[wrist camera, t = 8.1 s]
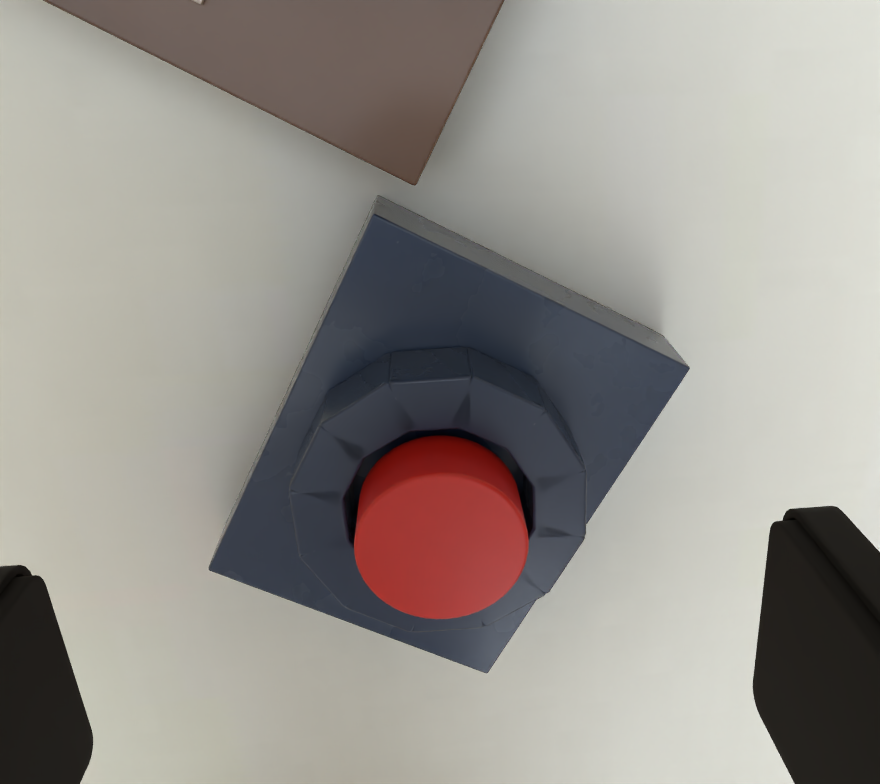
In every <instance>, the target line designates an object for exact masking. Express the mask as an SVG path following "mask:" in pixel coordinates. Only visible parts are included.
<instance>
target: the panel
mask: <svg viewBox="0 0 880 784" xmlns="http://www.w3.org/2000/svg"><path fill="white" fill-rule="evenodd" d="M43 1H45V2H47V3H49V4H51V5H53V6H55V7H57V8H59V9H61V10H63V11H65V12H67V13H69V14H71V15H73V16H75V17H77V18H79V19H81V20H83V21H85V22H87V23H89V24H91V25H93V26H95V27H97V28H99V29H101V30H103V31H105V32H107V33H109V34H111V35H113V36H115V37H117V38H119V39H121V40H123V41H125V42H127V43H129V44H131V45H133V46H135V47H137V48H139V49H141V50H143V51H145V52H147V53H149V54H151V55H153V56H155V57H157V58H159V59H161V60H163V61H165V62H167V63H169V64H171V65H173V66H175V67H177V68H179V69H181V70H183V71H185V72H187V73H189V74H191V75H193V76H195V77H197V78H199V79H201V80H203V81H205V82H207V83H209V84H211V85H213V86H215V87H217V88H219V89H221V90H223V91H225V92H227V93H229V94H231V95H233V96H235V97H237V98H239V99H241V100H243V101H245V102H247V103H249V104H251V105H253V106H255V107H257V108H259V109H261V110H263V111H265V112H267V113H269V114H271V115H273V116H275V117H277V118H279V119H281V120H283V121H285V122H287V123H289V124H291V125H293V126H295V127H297V128H299V129H301V130H303V131H305V132H307V133H309V134H311V135H313V136H315V137H317V138H319V139H321V140H323V141H325V142H327V143H329V144H331V145H333V146H335V147H337V148H339V149H341V150H343V151H345V152H347V153H349V154H351V155H353V156H355V157H357V158H359V159H361V160H363V161H365V162H367V163H369V164H371V165H373V166H375V167H377V168H379V169H381V170H383V171H385V172H387V173H389V174H391V175H393V176H395V177H397V178H399V179H401V180H403V181H405V182H407V183H409V184H411V185H416V184H417V182H418V180H419V178H420V176H421V174H422V172H423V170H424V168H425V166H426V163H427V161H428V159H429V157H430V155H431V153H432V151H433V149H434V147H435V145H436V142H437V140H438V138H439V136H440V134H441V132H442V130H443V128H444V126H445V124H446V122H447V119H448V117H449V115H450V113H451V111H452V109H453V107H454V105H455V103H456V101H457V99H458V96H459V94H460V92H461V90H462V88H463V86H464V84H465V82H466V80H467V78H468V76H469V73H470V71H471V69H472V67H473V65H474V63H475V61H476V59H477V57H478V55H479V52H480V50H481V48H482V46H483V44H484V42H485V40H486V38H487V36H488V34H489V32H490V29H491V27H492V25H493V23H494V21H495V19H496V17H497V15H498V13H499V11H500V9H501V6H502V4H503V2H504V0H43Z"/></svg>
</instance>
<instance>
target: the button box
mask: <svg viewBox="0 0 880 784" xmlns="http://www.w3.org/2000/svg"><path fill="white" fill-rule="evenodd" d="M689 369H690V367H689V366H688V365H687V364H686V363H685V361H684V360H683V359H682V358H681V356H680V355H679V354H678V353H677V352H676V350H675V349H674V348H673V347H672V346H671V344H670V343H669V342H668V341H667V339H666V338H665V337H664V336H663V335H661V334H659V333H657V332H655V331H653V330H651V329H649V328H647V327H645V326H643V325H641V324H639V323H637V322H635V321H633V320H631V319H629V318H627V317H625V316H623V315H621V314H619V313H617V312H615V311H613V310H611V309H609V308H606V307H604V306H602V305H600V304H598V303H596V302H594V301H592V300H590V299H588V298H586V297H584V296H582V295H580V294H578V293H576V292H574V291H572V290H570V289H568V288H566V287H564V286H562V285H560V284H558V283H556V282H554V281H552V280H550V279H548V278H546V277H544V276H541V275H539V274H537V273H535V272H533V271H531V270H529V269H527V268H525V267H523V266H521V265H519V264H517V263H515V262H513V261H511V260H509V259H507V258H505V257H503V256H501V255H499V254H497V253H495V252H493V251H491V250H489V249H487V248H485V247H483V246H481V245H479V244H476V243H474V242H472V241H470V240H468V239H466V238H464V237H462V236H460V235H458V234H456V233H454V232H452V231H450V230H448V229H446V228H444V227H442V226H440V225H438V224H436V223H434V222H432V221H430V220H428V219H426V218H424V217H422V216H420V215H418V214H416V213H414V212H411V211H409V210H407V209H405V208H403V207H401V206H399V205H397V204H395V203H393V202H391V201H389V200H387V199H385V198H383V197H381V196H377V197H376V199H375V201H374V203H373V205H372V208H371V210H370V212H369V214H368V216H367V218H366V221H365V223H364V225H363V227H362V229H361V231H360V234H359V236H358V238H357V240H356V242H355V244H354V247H353V249H352V251H351V253H350V255H349V257H348V260H347V262H346V264H345V266H344V268H343V270H342V273H341V275H340V277H339V279H338V281H337V283H336V286H335V288H334V290H333V292H332V294H331V296H330V299H329V301H328V303H327V305H326V307H325V309H324V312H323V314H322V316H321V318H320V320H319V322H318V325H317V327H316V329H315V331H314V333H313V335H312V338H311V340H310V342H309V344H308V346H307V348H306V351H305V353H304V355H303V357H302V359H301V361H300V364H299V366H298V368H297V370H296V372H295V374H294V377H293V379H292V381H291V383H290V385H289V387H288V390H287V392H286V394H285V396H284V398H283V400H282V403H281V405H280V407H279V409H278V411H277V413H276V416H275V418H274V420H273V422H272V424H271V426H270V429H269V431H268V433H267V435H266V437H265V439H264V442H263V444H262V446H261V448H260V450H259V452H258V455H257V457H256V459H255V461H254V463H253V465H252V468H251V470H250V472H249V474H248V476H247V478H246V481H245V483H244V485H243V487H242V489H241V491H240V494H239V496H238V498H237V500H236V502H235V504H234V506H233V509H232V511H231V513H230V515H229V517H228V519H227V522H226V524H225V527H224V529H223V532H222V534H221V537H220V540H219V542H218V545H217V547H216V550H215V553H214V555H213V558H212V560H211V563H210V565H209V570H210V571H212V572H215V573H218V574H220V575H223V576H226V577H229V578H231V579H234V580H237V581H239V582H242V583H245V584H247V585H250V586H253V587H255V588H258V589H261V590H263V591H266V592H269V593H272V594H274V595H277V596H280V597H282V598H285V599H288V600H290V601H293V602H296V603H298V604H301V605H304V606H306V607H309V608H312V609H315V610H317V611H320V612H323V613H325V614H328V615H331V616H333V617H336V618H339V619H341V620H344V621H347V622H350V623H352V624H355V625H358V626H360V627H363V628H366V629H368V630H371V631H374V632H376V633H379V634H382V635H384V636H387V637H390V638H393V639H395V640H398V641H401V642H403V643H406V644H409V645H411V646H414V647H417V648H419V649H422V650H425V651H427V652H430V653H433V654H436V655H438V656H441V657H444V658H446V659H449V660H452V661H454V662H457V663H460V664H462V665H465V666H468V667H471V668H473V669H476V670H479V671H481V672H484V673H488V672H489V670H490V669H491V667H492V666H493V664H494V663H495V661H496V660H497V658H498V657H499V655H500V654H501V652H502V651H503V649H504V648H505V646H506V645H507V643H508V642H509V640H510V639H511V637H512V636H513V634H514V633H515V631H516V630H517V628H518V627H519V625H520V624H521V622H522V621H523V619H524V617H525V616H526V614H527V613H528V611H529V610H530V608H531V607H532V605H533V604H534V602H535V601H536V600H537V599H539V598H541V597H542V596H544V595H545V594H546V593H548V592H549V591H550V590H551V588H552V587H553V585H554V584H555V582H556V581H557V579H558V578H559V576H560V575H561V573H562V572H563V570H564V569H565V567H566V566H567V564H568V563H569V561H570V560H571V558H572V557H573V555H574V554H575V552H576V551H577V549H578V548H579V546H580V545H581V543H582V542H583V540H584V538H585V534H586V524H587V523H588V521H589V520H590V518H591V517H592V515H593V514H594V512H595V511H596V509H597V508H598V506H599V505H600V503H601V502H602V500H603V499H604V497H605V496H606V494H607V493H608V491H609V490H610V488H611V487H612V485H613V484H614V482H615V481H616V479H617V478H618V476H619V475H620V473H621V471H622V470H623V468H624V467H625V465H626V464H627V462H628V461H629V459H630V458H631V456H632V455H633V453H634V452H635V450H636V449H637V447H638V446H639V444H640V443H641V441H642V440H643V438H644V437H645V435H646V434H647V432H648V431H649V429H650V428H651V426H652V425H653V423H654V422H655V420H656V419H657V417H658V416H659V414H660V413H661V411H662V410H663V408H664V407H665V405H666V404H667V402H668V401H669V399H670V398H671V396H672V395H673V393H674V392H675V390H676V389H677V387H678V386H679V384H680V383H681V381H682V380H683V378H684V377H685V375H686V374H687V372H688V371H689ZM434 435H446V436H455V437H460V438H464V439H468V440H470V441H473V442H476V443H478V444H480V445H482V446H484V447H486V448H487V449H489V450H490V451H492V452H493V453H494V454H495V455H497V456H498V457H499V458H500V459H501V460H502V461H503V462H504V463H505V465H506V466H507V467H508V469H509V470H510V472H511V473H512V475H513V477H514V479H515V482H516V484H517V488H518V492H519V496H520V500H521V505H522V509H523V514H524V518H525V522H526V527H527V531H528V540H529V546H528V555H527V560H526V563H525V566H524V568H523V571H522V573H521V574H520V576H519V578H518V580H517V581H516V583H515V584H514V585H513V587H512V588H511V589H510V590H509V591H508V592H507V593H506V594H505V595H504V596H503V597H502V598H500V599H499V600H498V601H497V602H495V603H494V604H492V605H490V606H489V607H487V608H485V609H483V610H481V611H479V612H476V613H473V614H470V615H467V616H462V617H458V618H450V619H429V618H422V617H417V616H413V615H410V614H407V613H404V612H401V611H399V610H397V609H395V608H393V607H391V606H390V605H388V604H386V603H385V602H384V601H382V600H381V599H380V598H379V597H377V596H376V595H375V594H374V593H373V591H372V590H371V589H370V588H369V587H368V585H367V584H366V583H365V581H364V579H363V578H362V576H361V574H360V572H359V569H358V567H357V564H356V560H355V555H354V539H355V530H356V522H357V514H358V505H359V497H360V492H361V488H362V485H363V483H364V480H365V478H366V476H367V475H368V473H369V471H370V470H371V468H372V467H373V466H374V465H375V464H376V462H377V461H378V460H379V459H380V458H382V457H383V456H384V455H385V454H386V453H388V452H389V451H391V450H392V449H393V448H395V447H397V446H399V445H401V444H403V443H405V442H408V441H410V440H413V439H417V438H421V437H426V436H434Z"/></svg>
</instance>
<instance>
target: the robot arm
mask: <svg viewBox="0 0 880 784" xmlns="http://www.w3.org/2000/svg"><path fill="white" fill-rule="evenodd" d="M753 694H754V699H755V704H756V707H757V710H758V712H759V715H760V717H761V719H762V721H763V723H764V724H765V726H766V728H767V730H768V732H769V734H770V736H771V738H772V740H773V742H774V744H775V746H776V748H777V750H778V752H779V754H780V756H781V758H782V760H783V762H784V764H785V765H786V767H787V769H788V771H789V773H790V775H791V777H792V779H793V781H794V783H795V784H880V552H879V551H878V550H877V549H876V548H875V547H874V546H873V544H872V543H871V542H870V541H869V540H868V539H867V538H866V537H865V536H864V535H863V534H862V532H861V531H860V530H859V529H858V528H857V527H856V526H855V525H854V524H853V523H852V521H851V520H850V519H849V518H848V517H847V516H846V515H845V514H844V513H843V512H842V511H841V510H840V509H839V508H838V507H835V506H824V507H811V508H797V509H789V510H788V511H786V513H785V515H784V517H783V521H776V522H774V523H773V524H772V526H771V528H770V533H769V542H768V551H767V560H766V569H765V578H764V587H763V596H762V605H761V614H760V623H759V632H758V642H757V651H756V660H755V669H754V678H753ZM92 749H93V734H92V730H91V726H90V723H89V720H88V717H87V714H86V711H85V707H84V704H83V701H82V698H81V695H80V692H79V688H78V685H77V682H76V679H75V676H74V673H73V669H72V666H71V663H70V660H69V657H68V654H67V650H66V647H65V644H64V641H63V638H62V635H61V632H60V628H59V625H58V622H57V619H56V616H55V613H54V609H53V606H52V603H51V600H50V597H49V594H48V590H47V587H46V585H45V582H44V580H43V579H42V578H41V577H40V576H37V575H35V576H32V574H31V572H30V571H29V570H28V569H27V568H26V567H25V566H22V565H15V566H2V567H0V784H80V782H81V780H82V778H83V775H84V773H85V771H86V769H87V767H88V764H89V762H90V759H91V755H92Z"/></svg>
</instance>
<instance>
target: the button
mask: <svg viewBox="0 0 880 784" xmlns="http://www.w3.org/2000/svg"><path fill="white" fill-rule="evenodd" d="M528 546H529V540H528V531H527V527H526V522H525V518H524V514H523V509H522V505H521V500H520V496H519V492H518V488H517V484H516V482H515V479H514V477H513V475H512V473H511V472H510V470H509V469H508V467H507V466H506V465H505V463H504V462H503V461H502V460H501V459H500V458H499V457H498V456H497V455H495V454H494V453H493V452H492V451H490V450H489V449H487V448H486V447H484V446H482V445H480V444H478V443H476V442H473V441H470V440H468V439H464V438H460V437H455V436H446V435H434V436H426V437H421V438H417V439H413V440H410V441H408V442H405V443H403V444H401V445H399V446H397V447H395V448H393V449H392V450H391V451H389V452H388V453H386V454H385V455H384V456H383V457H382V458H380V459H379V460H378V461H377V462H376V464H375V465H374V466H373V467H372V468H371V470H370V471H369V473H368V475H367V476H366V478H365V480H364V483H363V485H362V488H361V492H360V497H359V505H358V514H357V522H356V530H355V539H354V555H355V560H356V564H357V567H358V569H359V572H360V574H361V576H362V578H363V579H364V581H365V583H366V584H367V585H368V587H369V588H370V589H371V590H372V591H373V593H374V594H375V595H376V596H377V597H379V598H380V599H381V600H382V601H384V602H385V603H386V604H388V605H390V606H391V607H393V608H395V609H397V610H399V611H401V612H404V613H407V614H410V615H413V616H417V617H422V618H429V619H450V618H458V617H462V616H467V615H470V614H473V613H476V612H479V611H481V610H483V609H485V608H487V607H489V606H490V605H492V604H494V603H495V602H497V601H498V600H499V599H500V598H502V597H503V596H504V595H505V594H506V593H507V592H508V591H509V590H510V589H511V588H512V587H513V585H514V584H515V583H516V581H517V580H518V578H519V576H520V574H521V573H522V571H523V568H524V566H525V563H526V560H527V555H528Z"/></svg>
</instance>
